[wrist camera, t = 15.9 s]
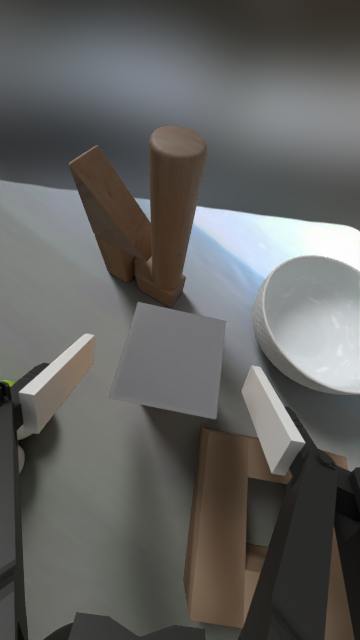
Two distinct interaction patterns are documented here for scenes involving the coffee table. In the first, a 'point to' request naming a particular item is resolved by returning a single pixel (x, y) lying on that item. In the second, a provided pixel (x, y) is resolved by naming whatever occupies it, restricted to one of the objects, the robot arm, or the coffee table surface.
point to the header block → (239, 537)
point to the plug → (171, 361)
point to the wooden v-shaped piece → (132, 224)
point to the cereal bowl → (312, 323)
